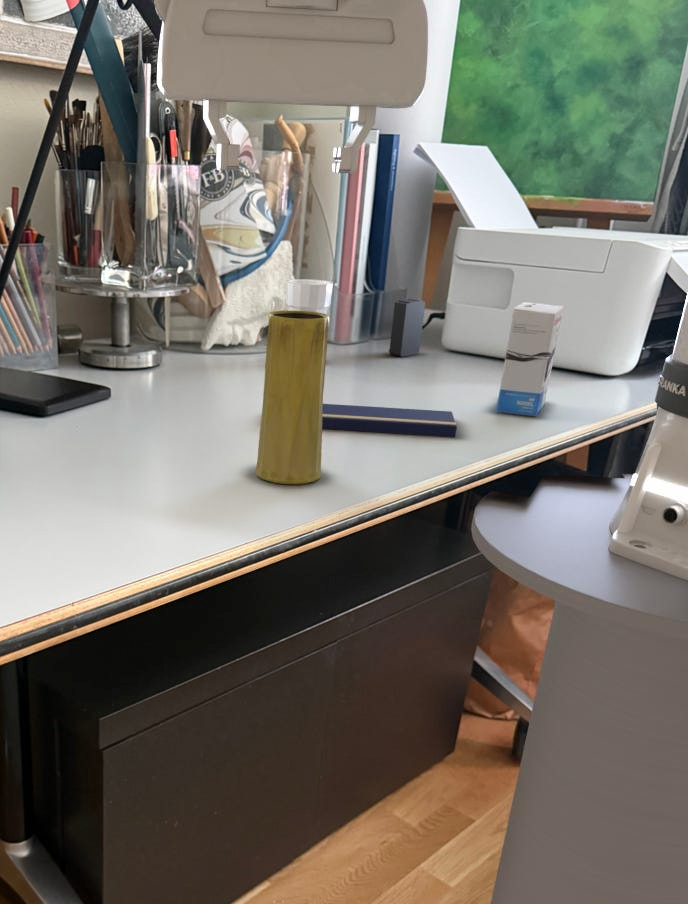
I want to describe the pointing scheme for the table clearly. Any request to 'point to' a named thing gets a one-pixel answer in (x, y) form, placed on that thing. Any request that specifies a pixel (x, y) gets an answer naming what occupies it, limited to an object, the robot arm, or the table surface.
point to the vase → (293, 397)
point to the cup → (308, 295)
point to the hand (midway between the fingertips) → (286, 171)
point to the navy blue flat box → (388, 420)
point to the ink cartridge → (407, 327)
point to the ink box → (529, 358)
